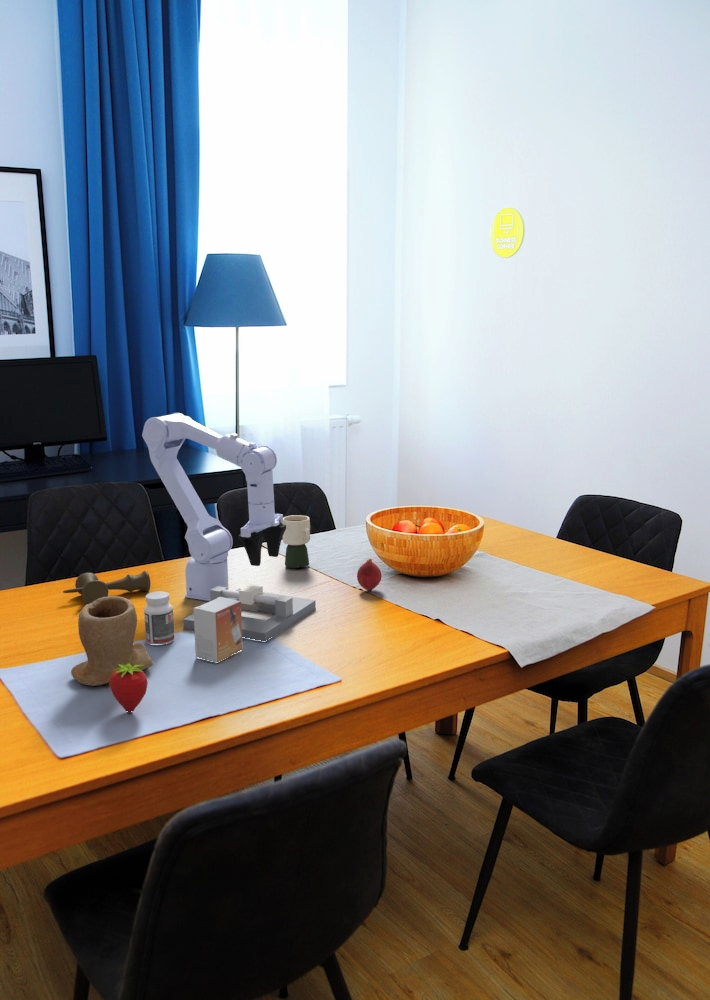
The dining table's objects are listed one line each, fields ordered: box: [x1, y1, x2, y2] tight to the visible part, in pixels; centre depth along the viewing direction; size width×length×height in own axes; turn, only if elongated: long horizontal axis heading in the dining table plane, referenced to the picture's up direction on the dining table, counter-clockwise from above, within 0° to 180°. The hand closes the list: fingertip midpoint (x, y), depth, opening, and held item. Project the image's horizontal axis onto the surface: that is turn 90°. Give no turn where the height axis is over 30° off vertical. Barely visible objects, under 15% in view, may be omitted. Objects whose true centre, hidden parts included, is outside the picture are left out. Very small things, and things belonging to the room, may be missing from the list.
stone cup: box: [70, 595, 154, 687], centre depth 164 cm, size 15×12×15 cm
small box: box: [193, 597, 243, 663], centre depth 173 cm, size 8×6×10 cm
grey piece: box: [182, 586, 317, 641], centre depth 194 cm, size 20×22×6 cm
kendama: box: [62, 570, 152, 605], centre depth 208 cm, size 6×10×20 cm
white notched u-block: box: [239, 584, 267, 612], centre depth 193 cm, size 5×5×4 cm
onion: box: [356, 558, 383, 592], centre depth 211 cm, size 6×6×8 cm
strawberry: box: [108, 656, 149, 713], centre depth 150 cm, size 6×8×10 cm
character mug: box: [281, 514, 311, 569], centre depth 229 cm, size 11×7×13 cm, turn 40°
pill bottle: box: [143, 590, 175, 645], centre depth 181 cm, size 6×6×10 cm
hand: (264, 560), depth 201 cm, fingers open, 7 cm apart
